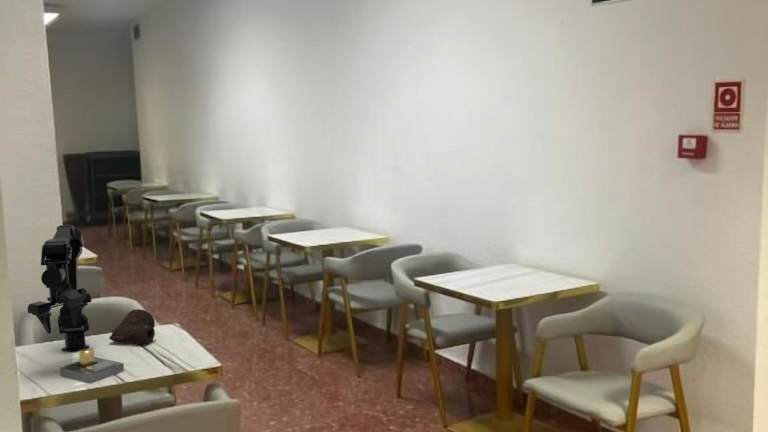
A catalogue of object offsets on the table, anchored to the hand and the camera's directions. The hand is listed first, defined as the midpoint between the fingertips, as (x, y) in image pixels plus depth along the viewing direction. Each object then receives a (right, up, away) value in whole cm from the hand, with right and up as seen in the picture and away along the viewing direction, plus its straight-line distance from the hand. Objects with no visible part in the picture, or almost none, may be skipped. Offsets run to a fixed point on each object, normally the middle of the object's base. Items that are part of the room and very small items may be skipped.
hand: (62, 329), depth 229 cm
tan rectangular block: (+10, -12, -4) cm, 16 cm away
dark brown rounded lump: (+13, -9, +30) cm, 34 cm away
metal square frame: (+11, -13, -5) cm, 18 cm away
